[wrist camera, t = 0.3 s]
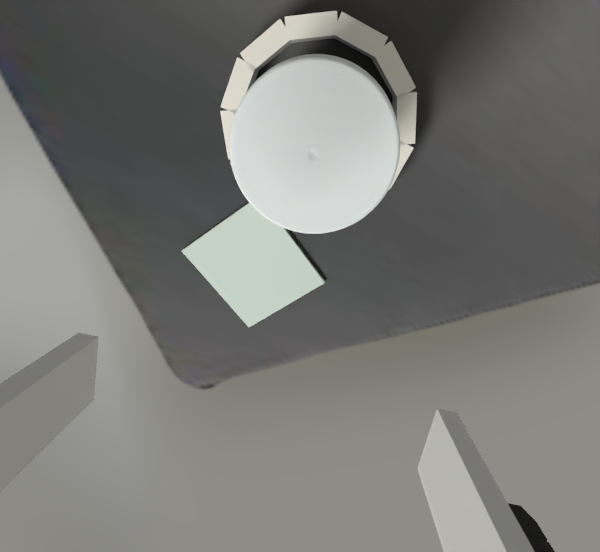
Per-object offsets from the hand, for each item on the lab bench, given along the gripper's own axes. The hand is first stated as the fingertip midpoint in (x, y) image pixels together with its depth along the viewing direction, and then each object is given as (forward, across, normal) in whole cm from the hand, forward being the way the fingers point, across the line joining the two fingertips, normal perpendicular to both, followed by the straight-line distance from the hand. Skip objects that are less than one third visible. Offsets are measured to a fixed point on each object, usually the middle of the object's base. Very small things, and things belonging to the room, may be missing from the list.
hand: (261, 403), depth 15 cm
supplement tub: (+23, -1, +13) cm, 27 cm away
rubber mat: (+26, -4, -2) cm, 26 cm away
